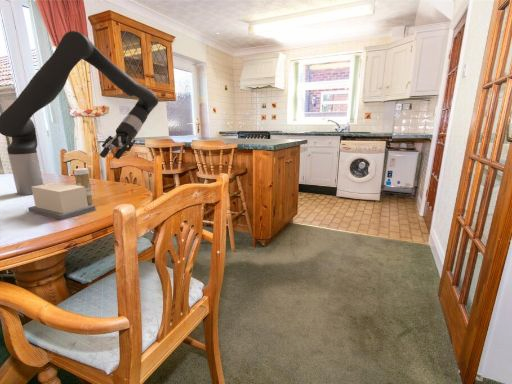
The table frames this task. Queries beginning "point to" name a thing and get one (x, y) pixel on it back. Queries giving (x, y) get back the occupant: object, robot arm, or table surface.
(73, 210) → the cream and grey block
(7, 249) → the table surface
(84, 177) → the sprinkles bottle
